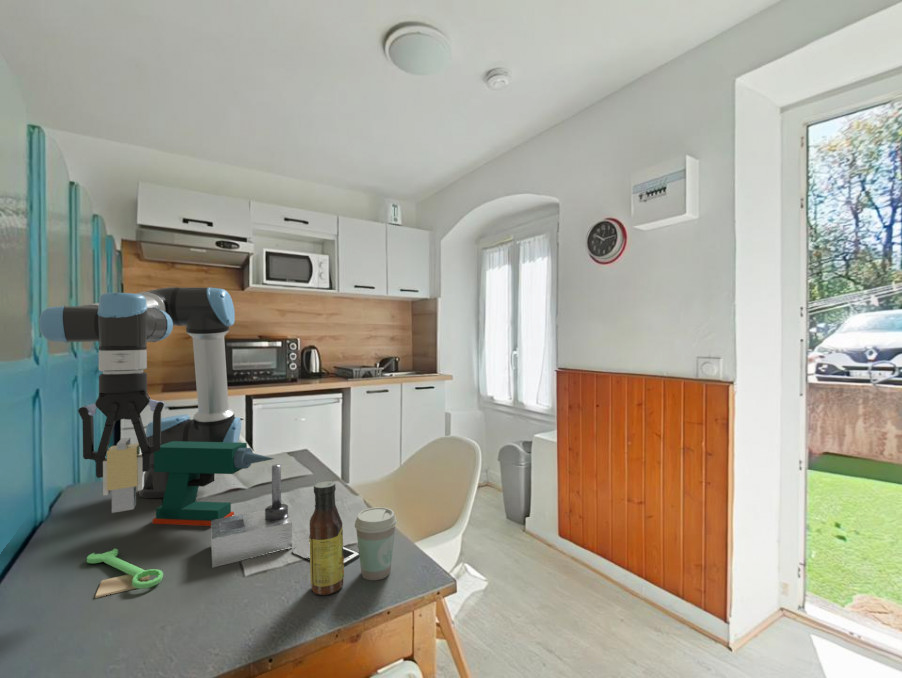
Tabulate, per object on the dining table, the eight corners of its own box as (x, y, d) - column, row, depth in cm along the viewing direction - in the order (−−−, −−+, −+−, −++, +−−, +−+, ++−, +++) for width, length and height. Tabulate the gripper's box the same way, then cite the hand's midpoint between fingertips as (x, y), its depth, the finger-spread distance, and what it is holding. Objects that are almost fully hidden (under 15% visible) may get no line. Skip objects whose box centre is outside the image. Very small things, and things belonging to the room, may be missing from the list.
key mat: (101, 582, 85) (101, 580, 85) (150, 571, 89) (150, 569, 89) (95, 598, 80) (95, 596, 80) (147, 585, 84) (147, 583, 84)
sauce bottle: (350, 586, 83) (349, 484, 83) (321, 601, 78) (320, 492, 78) (332, 574, 87) (331, 476, 87) (303, 587, 83) (302, 484, 83)
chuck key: (112, 506, 85) (111, 439, 86) (140, 501, 88) (140, 436, 88) (106, 515, 80) (106, 445, 80) (136, 510, 83) (136, 441, 83)
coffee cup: (377, 589, 82) (377, 526, 82) (345, 576, 86) (345, 517, 86) (405, 569, 89) (405, 511, 89) (374, 558, 94) (374, 503, 94)
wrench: (111, 554, 97) (82, 564, 93) (111, 545, 97) (82, 554, 93) (169, 579, 85) (138, 592, 80) (169, 569, 85) (138, 582, 80)
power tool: (282, 516, 116) (281, 442, 116) (268, 528, 109) (268, 449, 109) (172, 512, 119) (172, 440, 119) (152, 523, 112) (152, 447, 112)
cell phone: (318, 540, 103) (318, 536, 103) (361, 557, 95) (361, 553, 95) (290, 554, 96) (290, 549, 96) (334, 573, 88) (334, 569, 88)
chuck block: (211, 546, 100) (210, 468, 100) (284, 530, 108) (283, 458, 108) (212, 567, 90) (211, 482, 90) (292, 548, 98) (291, 470, 98)
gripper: (58, 375, 76) (59, 506, 76) (175, 371, 85) (176, 488, 85) (69, 372, 83) (70, 493, 83) (177, 369, 92) (178, 477, 92)
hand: (124, 490), depth 84 cm, fingers closed on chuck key, 5 cm apart
